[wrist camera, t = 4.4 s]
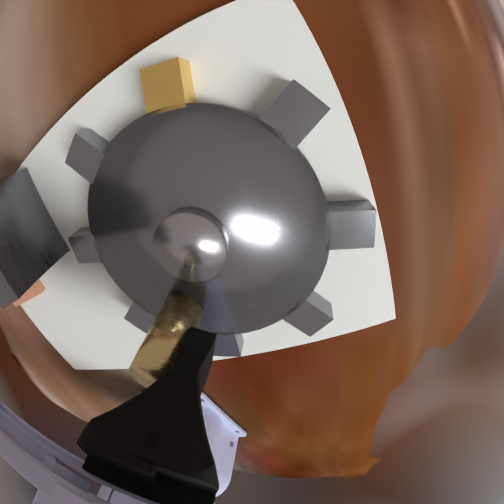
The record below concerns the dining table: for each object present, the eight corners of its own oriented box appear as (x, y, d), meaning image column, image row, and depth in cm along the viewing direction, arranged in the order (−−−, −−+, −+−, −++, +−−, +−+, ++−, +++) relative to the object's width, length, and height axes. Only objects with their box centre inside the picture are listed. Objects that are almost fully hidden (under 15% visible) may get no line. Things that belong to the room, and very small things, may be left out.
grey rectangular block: (70, 249, 14) (18, 299, 10) (46, 264, 15) (2, 308, 11) (27, 167, 12) (-35, 199, 7) (7, 192, 13) (-44, 225, 8)
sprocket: (296, 360, 16) (293, 442, 11) (87, 293, 16) (41, 353, 11) (410, 129, 9) (497, 160, 4) (93, 58, 9) (-2, 58, 4)
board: (391, 306, 14) (398, 325, 13) (79, 362, 23) (72, 373, 22) (283, -7, 7) (282, -22, 6) (-16, 228, 16) (-27, 236, 15)
